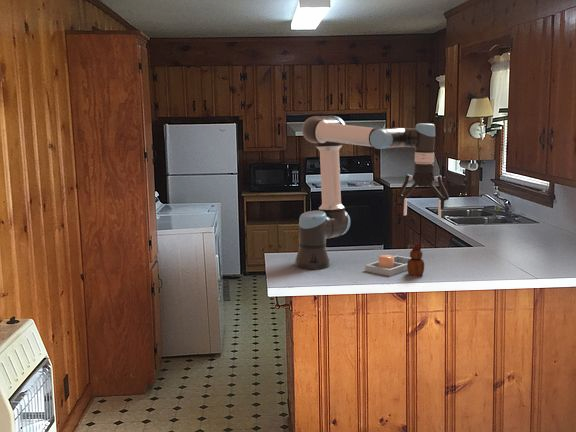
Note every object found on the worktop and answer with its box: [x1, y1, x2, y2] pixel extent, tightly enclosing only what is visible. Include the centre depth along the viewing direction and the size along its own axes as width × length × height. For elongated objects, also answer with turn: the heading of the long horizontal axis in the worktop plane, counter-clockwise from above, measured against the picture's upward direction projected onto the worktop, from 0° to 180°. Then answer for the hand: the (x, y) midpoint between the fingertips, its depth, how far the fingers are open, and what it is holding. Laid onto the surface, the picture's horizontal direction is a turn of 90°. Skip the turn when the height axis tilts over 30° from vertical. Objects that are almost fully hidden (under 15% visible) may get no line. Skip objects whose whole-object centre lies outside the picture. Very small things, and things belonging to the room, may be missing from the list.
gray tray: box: [364, 255, 411, 277], centre depth 273 cm, size 12×24×4 cm, turn 138°
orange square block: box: [378, 254, 395, 269], centre depth 268 cm, size 6×6×6 cm
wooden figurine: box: [407, 240, 425, 277], centre depth 262 cm, size 7×6×15 cm
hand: (422, 216), depth 257 cm, fingers open, 13 cm apart
